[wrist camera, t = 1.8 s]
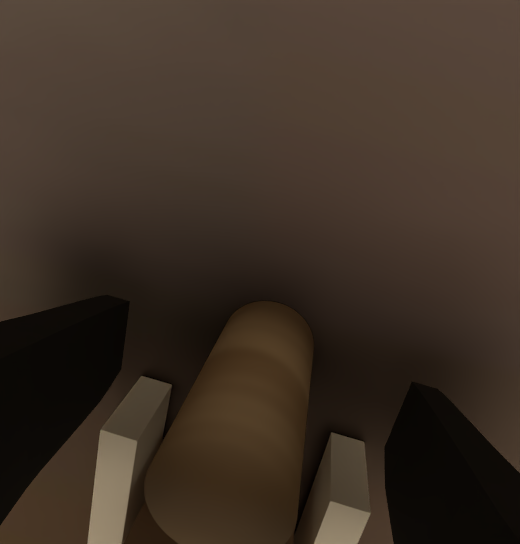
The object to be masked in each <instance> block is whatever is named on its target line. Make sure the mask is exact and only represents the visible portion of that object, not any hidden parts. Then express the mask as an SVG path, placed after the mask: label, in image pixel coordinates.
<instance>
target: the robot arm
mask: <svg viewBox="0 0 520 544" xmlns="http://www.w3.org/2000/svg"><path fill="white" fill-rule="evenodd" d="M129 302H130V301H126V300H123V299H119V298H116V297H112V296H109V295H104V296H98V297H94V298H90V299H86V300H82V301H78V302H75V303H71V304H67V305H64V306H60V307H56V308H53V309H49V310H46V311H42V312H38V313H34V314H31V315H26V316H22V317H18V318H14V319H9V320H5V321H1V322H0V525H1V523H2V522H3V521H4V519H5V518H6V516H7V515H8V514H9V512H10V511H11V509H12V508H13V507H14V505H15V504H16V502H17V501H18V499H19V498H20V497H21V495H22V494H23V492H24V491H25V490H26V488H27V487H28V486H29V485H30V483H31V482H32V481H33V479H34V478H35V477H36V476H37V474H38V473H39V472H40V471H41V470H42V468H43V467H44V466H45V465H46V464H47V463H48V461H49V460H50V459H51V458H52V457H53V456H54V455H55V453H56V452H57V451H58V450H59V449H60V448H61V446H62V445H63V444H64V443H65V442H66V441H67V440H68V438H69V437H70V436H71V435H72V434H73V433H74V431H75V430H76V429H77V428H78V427H79V426H80V425H81V423H82V422H83V421H84V420H85V419H86V417H87V416H88V415H89V414H90V413H91V412H92V410H93V409H94V408H95V407H96V406H97V404H98V403H99V402H100V401H101V399H102V398H103V396H104V395H105V393H106V392H107V390H108V389H109V387H110V386H111V384H112V383H113V381H114V380H115V378H116V376H117V375H118V373H119V372H120V370H121V366H122V358H123V350H124V342H125V334H126V326H127V318H128V310H129ZM385 489H386V496H387V503H388V509H389V516H390V523H391V529H392V535H393V541H394V544H520V473H519V472H518V471H517V470H516V469H515V468H514V467H513V466H512V465H511V464H510V463H509V462H508V461H507V460H506V459H505V458H504V457H503V456H502V455H501V454H500V453H499V452H498V451H497V450H496V449H495V448H494V447H493V446H492V445H491V444H490V443H489V442H488V441H487V439H486V438H485V437H484V436H483V435H482V434H481V433H480V432H479V431H478V430H477V429H476V428H475V427H474V426H473V425H472V423H471V422H470V421H469V420H468V419H467V418H466V417H465V416H464V415H463V414H462V413H461V412H460V411H459V410H458V408H457V407H456V406H455V405H454V404H453V403H452V402H451V401H450V400H449V399H448V398H447V397H446V396H445V395H444V394H443V393H442V392H440V391H439V390H438V389H436V388H432V387H429V386H425V385H422V384H418V383H415V382H412V383H411V386H410V388H409V390H408V393H407V395H406V397H405V400H404V402H403V405H402V407H401V409H400V412H399V414H398V416H397V419H396V421H395V424H394V426H393V428H392V431H391V433H390V436H389V438H388V440H387V443H386V445H385Z"/></svg>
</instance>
